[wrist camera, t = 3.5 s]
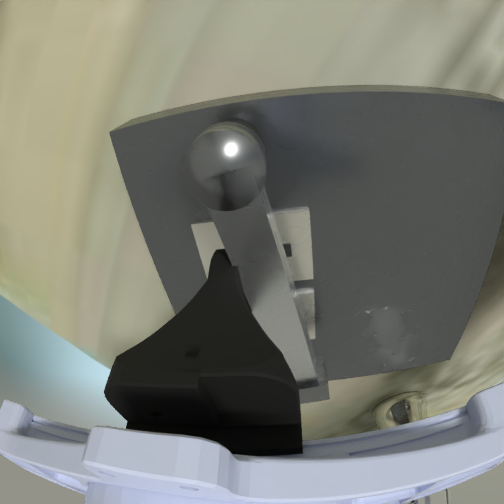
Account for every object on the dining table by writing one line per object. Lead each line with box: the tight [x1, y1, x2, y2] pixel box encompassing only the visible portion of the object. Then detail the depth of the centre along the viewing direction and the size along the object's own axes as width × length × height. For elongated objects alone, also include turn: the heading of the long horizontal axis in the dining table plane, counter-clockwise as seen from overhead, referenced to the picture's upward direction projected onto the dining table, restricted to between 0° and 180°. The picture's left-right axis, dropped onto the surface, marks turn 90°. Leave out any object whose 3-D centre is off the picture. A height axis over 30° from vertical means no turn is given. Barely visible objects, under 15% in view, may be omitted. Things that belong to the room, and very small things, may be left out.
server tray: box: [109, 85, 504, 381], centre depth 15 cm, size 18×18×4 cm
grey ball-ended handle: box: [181, 121, 330, 404], centre depth 12 cm, size 14×2×2 cm, turn 17°
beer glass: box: [373, 392, 452, 504], centre depth 22 cm, size 7×7×15 cm
